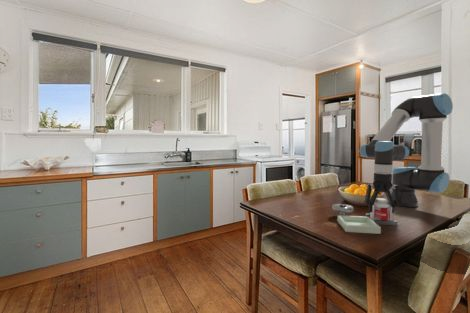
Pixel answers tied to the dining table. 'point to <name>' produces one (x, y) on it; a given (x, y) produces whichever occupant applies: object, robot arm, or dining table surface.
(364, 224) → the tray
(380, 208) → the pill bottle
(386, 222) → the tensioner bracket
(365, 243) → the dining table surface
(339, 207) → the pulley
